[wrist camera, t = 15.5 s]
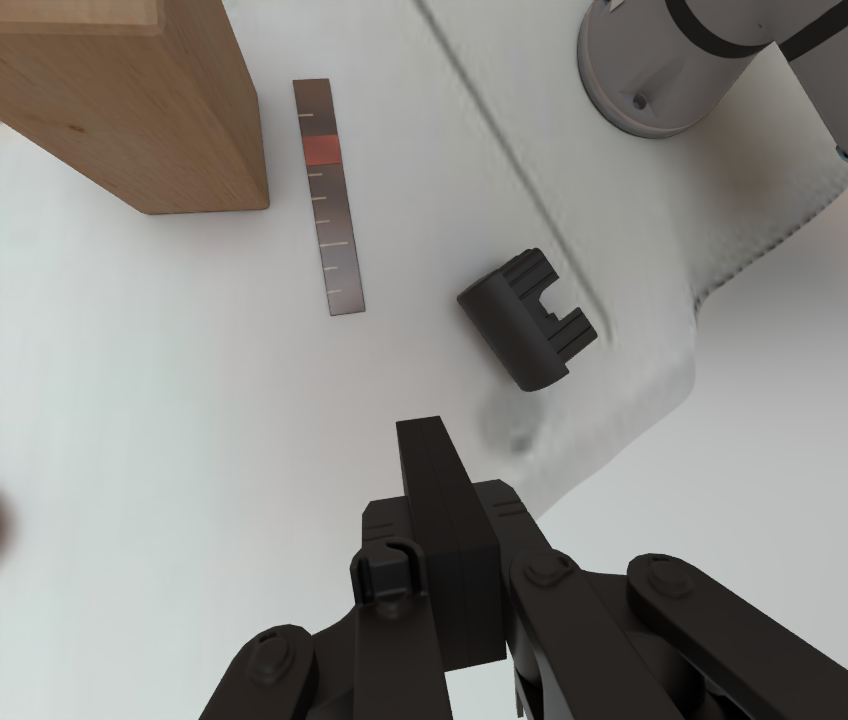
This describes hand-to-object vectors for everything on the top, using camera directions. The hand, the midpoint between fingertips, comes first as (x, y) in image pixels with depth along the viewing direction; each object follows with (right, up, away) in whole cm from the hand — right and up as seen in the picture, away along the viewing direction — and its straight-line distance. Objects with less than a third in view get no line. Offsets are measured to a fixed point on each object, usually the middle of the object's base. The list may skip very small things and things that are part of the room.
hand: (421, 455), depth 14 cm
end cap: (+8, +7, +25) cm, 27 cm away
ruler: (-8, +17, +22) cm, 29 cm away
